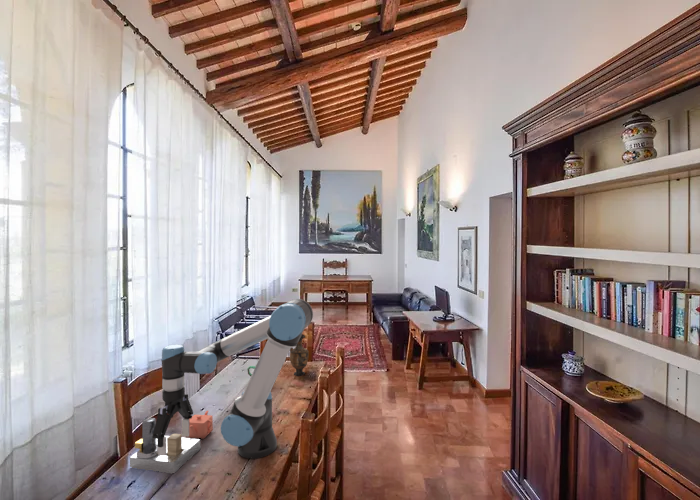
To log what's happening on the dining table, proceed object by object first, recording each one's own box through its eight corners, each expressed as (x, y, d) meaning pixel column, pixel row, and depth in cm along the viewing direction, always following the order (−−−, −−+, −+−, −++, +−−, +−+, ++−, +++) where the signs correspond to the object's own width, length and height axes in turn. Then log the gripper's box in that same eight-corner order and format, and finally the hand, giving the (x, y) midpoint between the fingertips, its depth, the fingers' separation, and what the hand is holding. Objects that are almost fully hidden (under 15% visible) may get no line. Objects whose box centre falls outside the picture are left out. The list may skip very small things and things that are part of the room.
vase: (307, 377, 228) (306, 328, 227) (287, 377, 228) (286, 328, 227) (309, 370, 239) (309, 323, 239) (290, 370, 240) (289, 324, 239)
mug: (273, 378, 226) (273, 361, 226) (271, 384, 216) (271, 367, 216) (249, 379, 225) (248, 362, 225) (245, 385, 215) (245, 368, 215)
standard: (167, 447, 142) (166, 416, 142) (151, 460, 134) (150, 427, 134) (146, 445, 144) (145, 414, 144) (129, 457, 136) (128, 424, 136)
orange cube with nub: (220, 427, 166) (220, 408, 166) (203, 445, 151) (202, 425, 151) (196, 425, 168) (195, 407, 168) (176, 443, 153) (175, 423, 153)
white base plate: (200, 449, 148) (200, 439, 148) (173, 473, 133) (173, 462, 133) (160, 444, 152) (160, 435, 152) (129, 468, 136) (129, 457, 136)
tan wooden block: (173, 459, 141) (173, 433, 141) (182, 460, 141) (181, 434, 141) (167, 465, 138) (167, 438, 138) (175, 466, 137) (175, 439, 137)
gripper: (185, 375, 152) (186, 427, 152) (140, 400, 128) (141, 462, 128) (202, 376, 150) (202, 429, 151) (159, 402, 126) (160, 465, 126)
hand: (174, 444), depth 139 cm, fingers open, 12 cm apart
